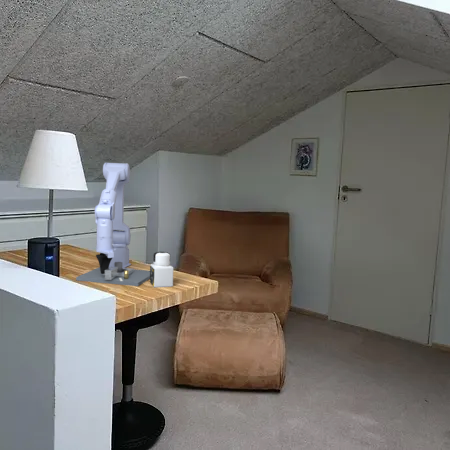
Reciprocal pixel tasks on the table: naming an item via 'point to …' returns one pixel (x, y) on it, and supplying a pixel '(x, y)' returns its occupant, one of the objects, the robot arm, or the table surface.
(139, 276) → the board
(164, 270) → the medicine bottle
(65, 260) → the table surface
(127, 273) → the dowel
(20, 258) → the table surface
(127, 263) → the robot arm
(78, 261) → the table surface
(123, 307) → the table surface
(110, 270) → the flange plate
